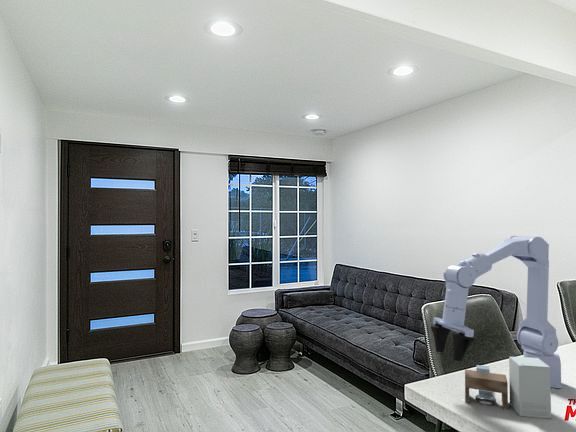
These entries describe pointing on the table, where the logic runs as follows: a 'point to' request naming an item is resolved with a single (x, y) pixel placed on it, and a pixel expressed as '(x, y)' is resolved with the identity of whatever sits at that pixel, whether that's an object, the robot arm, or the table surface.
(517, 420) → the table surface
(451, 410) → the table surface
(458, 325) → the robot arm
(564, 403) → the table surface
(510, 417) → the table surface
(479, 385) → the brown wooden arch
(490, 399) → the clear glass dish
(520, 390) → the supplement box
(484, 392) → the pale blue mallet
